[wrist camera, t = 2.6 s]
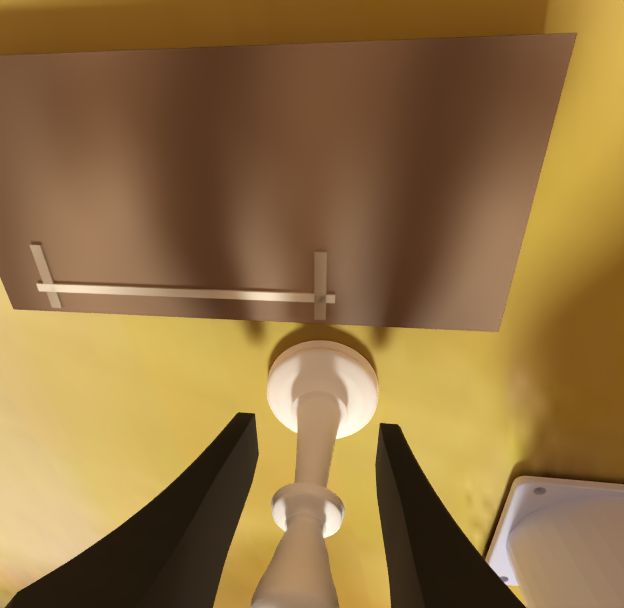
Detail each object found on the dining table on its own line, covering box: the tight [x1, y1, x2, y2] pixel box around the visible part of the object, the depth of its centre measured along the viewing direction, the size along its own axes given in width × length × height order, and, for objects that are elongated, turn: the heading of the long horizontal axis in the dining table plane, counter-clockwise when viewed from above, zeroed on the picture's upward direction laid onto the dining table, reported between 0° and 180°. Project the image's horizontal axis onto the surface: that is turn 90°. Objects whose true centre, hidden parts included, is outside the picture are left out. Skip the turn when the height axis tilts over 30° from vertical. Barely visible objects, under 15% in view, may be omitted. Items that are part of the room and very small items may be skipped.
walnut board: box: [0, 33, 577, 332], centre depth 11 cm, size 18×8×2 cm, turn 90°
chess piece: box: [251, 340, 379, 608], centre depth 10 cm, size 5×5×10 cm
